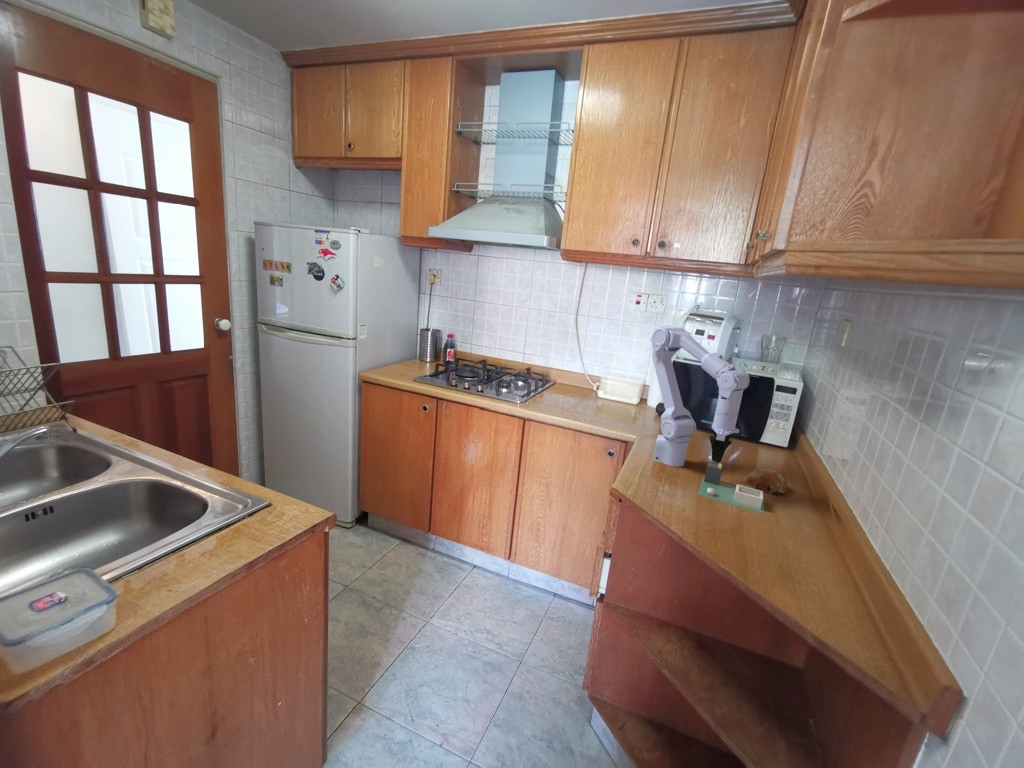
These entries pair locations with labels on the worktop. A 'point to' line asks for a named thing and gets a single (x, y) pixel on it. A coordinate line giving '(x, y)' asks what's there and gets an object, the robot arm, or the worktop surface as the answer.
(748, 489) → the white rectangular frame
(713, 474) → the plug
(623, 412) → the worktop surface
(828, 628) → the worktop surface
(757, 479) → the bread roll
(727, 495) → the board
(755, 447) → the worktop surface
